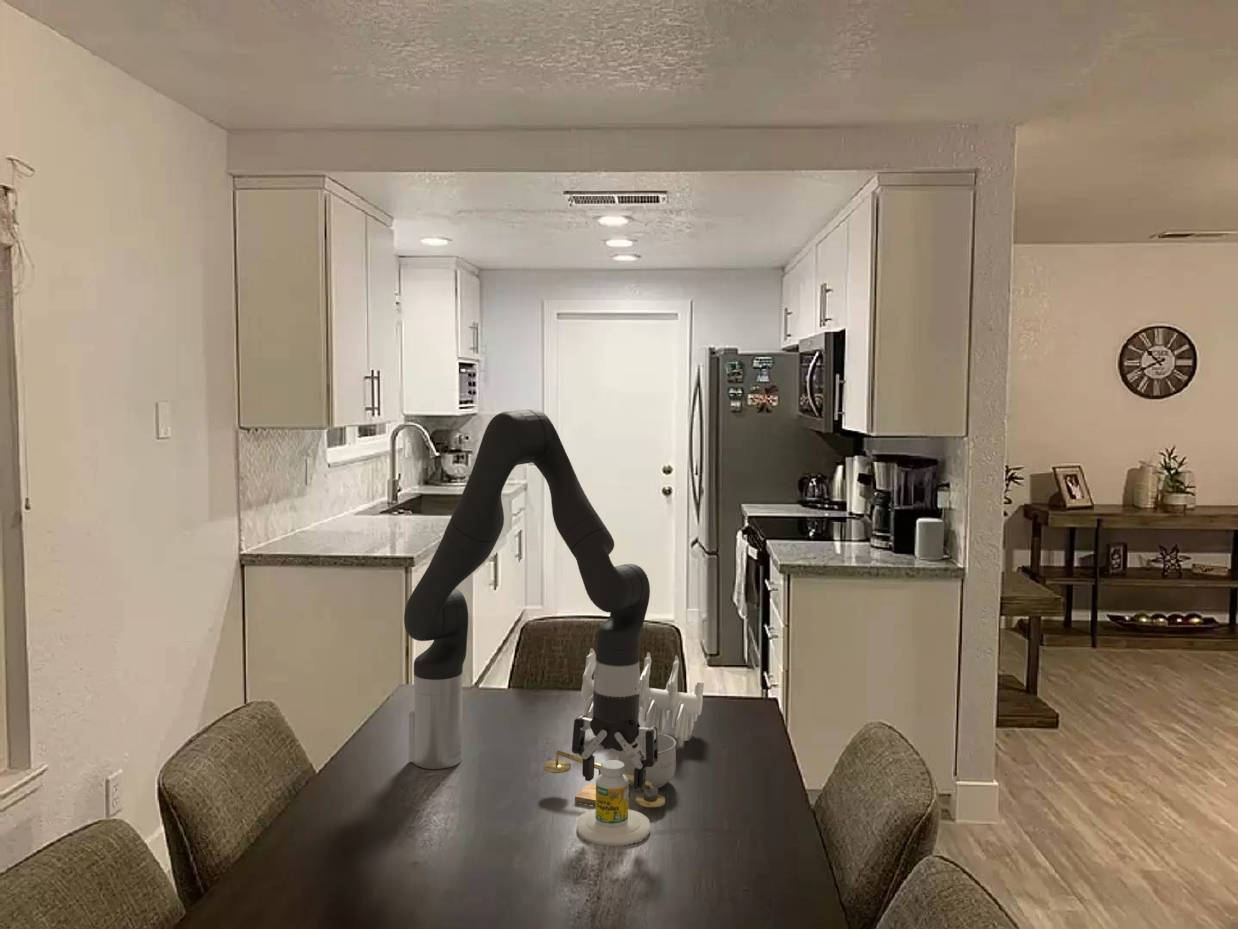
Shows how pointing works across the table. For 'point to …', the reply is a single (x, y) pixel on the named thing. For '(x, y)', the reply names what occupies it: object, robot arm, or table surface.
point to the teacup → (662, 768)
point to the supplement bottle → (612, 794)
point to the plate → (613, 829)
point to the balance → (589, 792)
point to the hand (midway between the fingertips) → (613, 784)
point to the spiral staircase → (654, 700)
